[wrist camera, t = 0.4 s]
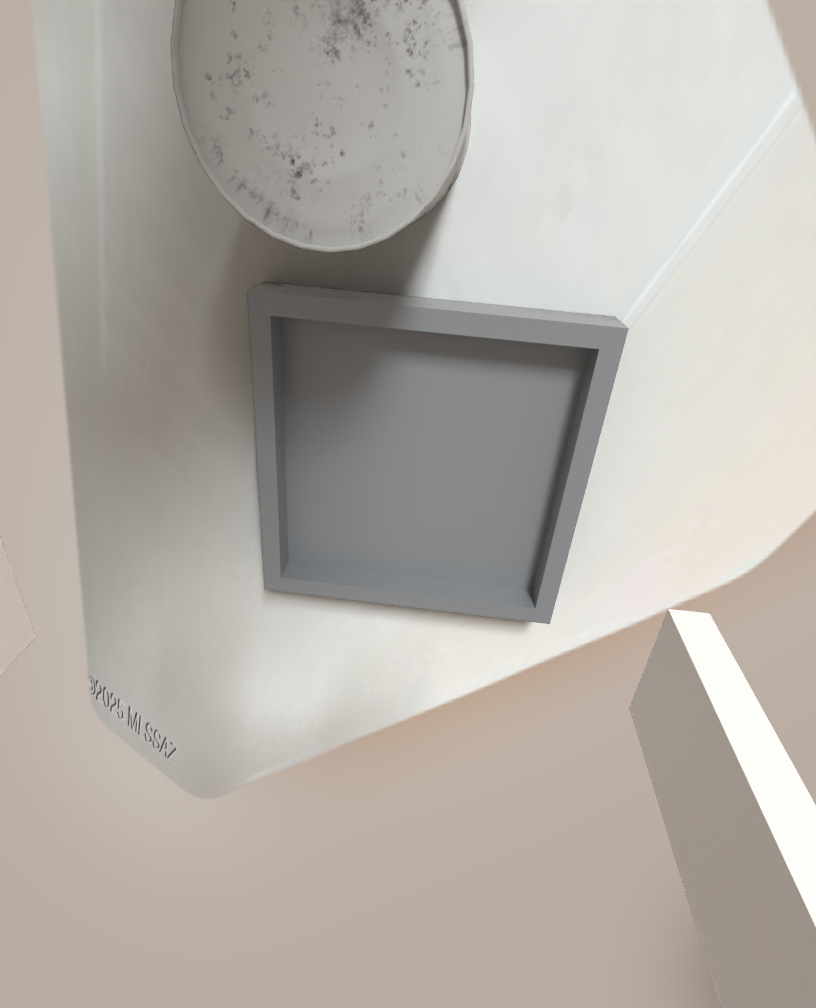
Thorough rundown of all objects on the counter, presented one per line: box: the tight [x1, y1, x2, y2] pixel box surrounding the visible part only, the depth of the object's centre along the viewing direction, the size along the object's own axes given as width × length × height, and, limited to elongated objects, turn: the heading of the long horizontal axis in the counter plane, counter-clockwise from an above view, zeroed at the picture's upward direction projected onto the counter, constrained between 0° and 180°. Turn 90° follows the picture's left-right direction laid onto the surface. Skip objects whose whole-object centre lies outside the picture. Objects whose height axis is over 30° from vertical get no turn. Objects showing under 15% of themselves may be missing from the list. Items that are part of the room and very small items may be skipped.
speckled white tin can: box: [171, 0, 474, 253], centre depth 23 cm, size 10×10×12 cm
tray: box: [247, 282, 628, 624], centre depth 36 cm, size 20×20×3 cm
